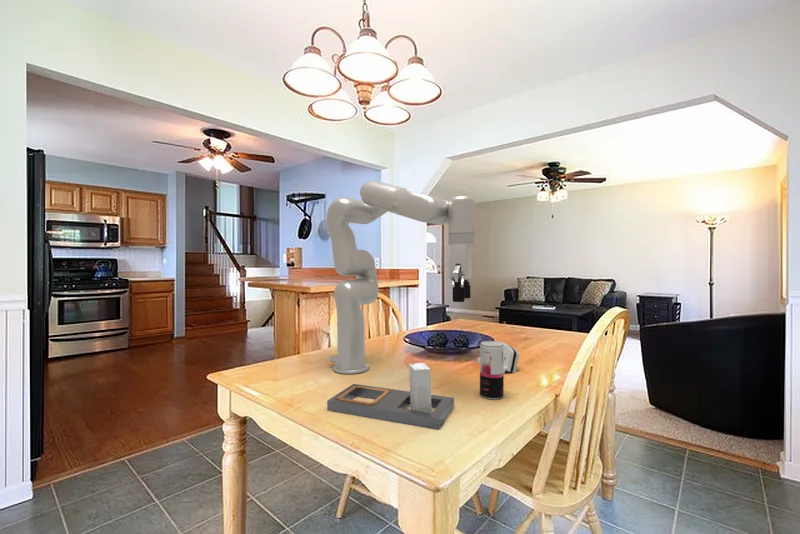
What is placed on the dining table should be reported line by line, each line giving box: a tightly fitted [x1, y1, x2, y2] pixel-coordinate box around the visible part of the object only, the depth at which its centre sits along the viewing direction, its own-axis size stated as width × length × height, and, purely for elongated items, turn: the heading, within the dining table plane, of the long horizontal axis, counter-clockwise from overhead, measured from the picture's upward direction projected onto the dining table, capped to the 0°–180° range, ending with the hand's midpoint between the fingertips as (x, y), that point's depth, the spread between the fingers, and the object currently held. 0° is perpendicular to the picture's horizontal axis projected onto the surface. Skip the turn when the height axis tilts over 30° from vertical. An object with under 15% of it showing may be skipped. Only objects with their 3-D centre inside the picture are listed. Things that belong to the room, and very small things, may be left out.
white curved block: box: [476, 340, 520, 375], centre depth 137 cm, size 17×5×10 cm, turn 21°
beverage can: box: [479, 340, 505, 400], centre depth 108 cm, size 6×6×15 cm
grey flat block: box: [326, 383, 455, 430], centre depth 99 cm, size 30×14×3 cm, turn 68°
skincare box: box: [408, 362, 433, 413], centre depth 96 cm, size 6×4×12 cm
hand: (461, 299), depth 109 cm, fingers open, 9 cm apart
